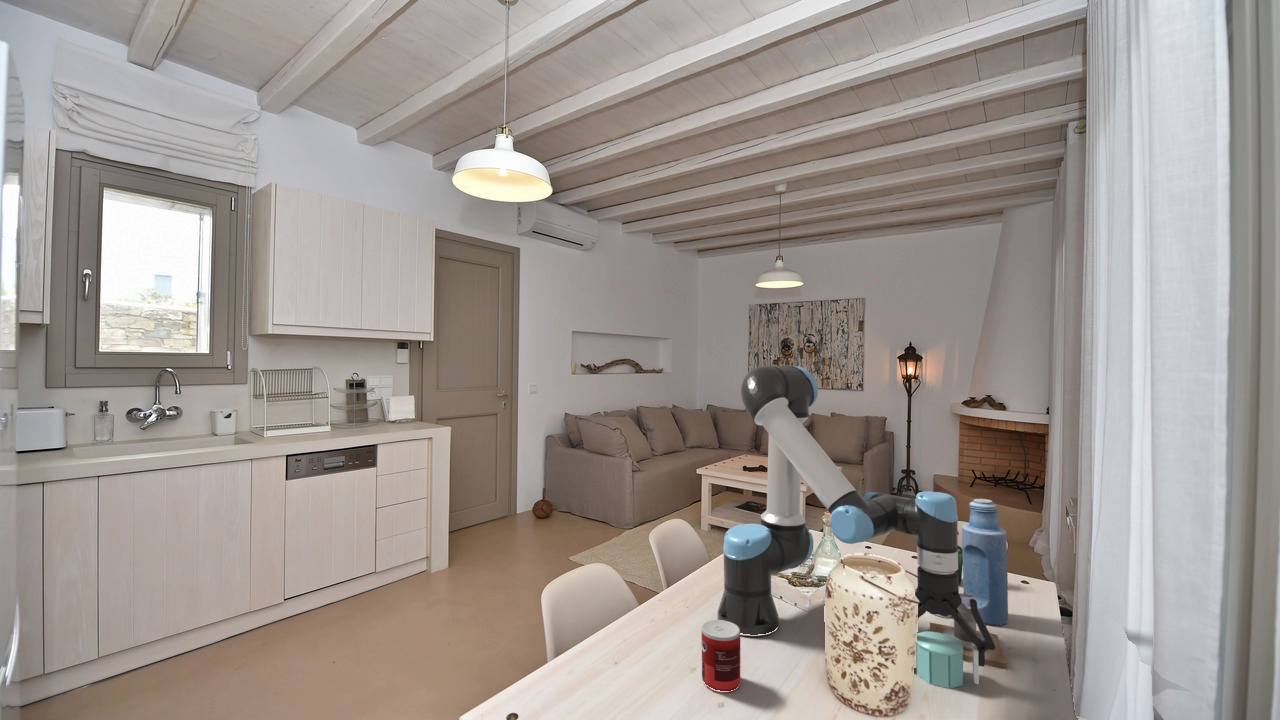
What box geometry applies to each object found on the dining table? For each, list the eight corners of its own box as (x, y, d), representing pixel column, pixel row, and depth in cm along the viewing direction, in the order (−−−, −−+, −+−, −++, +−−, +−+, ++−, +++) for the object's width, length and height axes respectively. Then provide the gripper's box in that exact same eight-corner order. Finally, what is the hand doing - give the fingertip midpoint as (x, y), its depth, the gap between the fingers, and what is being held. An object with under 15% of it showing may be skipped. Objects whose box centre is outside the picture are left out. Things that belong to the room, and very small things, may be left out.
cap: (915, 681, 111) (915, 646, 111) (915, 660, 119) (914, 628, 119) (965, 692, 107) (965, 656, 107) (961, 670, 115) (961, 636, 115)
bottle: (1017, 621, 137) (1015, 502, 137) (992, 629, 133) (990, 506, 133) (979, 606, 146) (977, 494, 146) (955, 614, 141) (953, 498, 142)
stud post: (932, 654, 122) (931, 601, 122) (929, 627, 134) (929, 580, 134) (1006, 669, 115) (1005, 614, 116) (997, 639, 128) (996, 589, 128)
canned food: (714, 667, 116) (713, 616, 117) (747, 681, 111) (747, 627, 112) (694, 683, 111) (693, 629, 111) (728, 698, 106) (728, 641, 106)
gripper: (872, 565, 115) (874, 667, 115) (1010, 584, 105) (1013, 697, 104) (874, 554, 122) (876, 651, 122) (1004, 571, 111) (1006, 677, 111)
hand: (939, 672), depth 113 cm, fingers open, 12 cm apart
